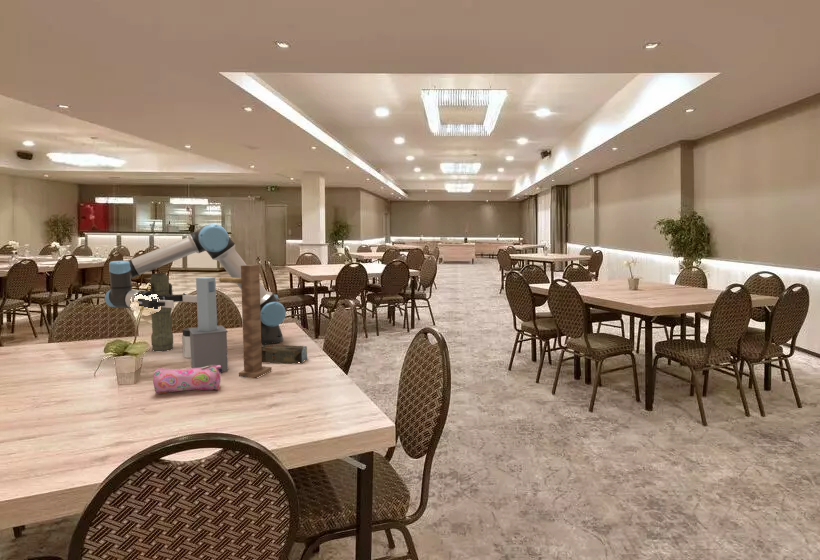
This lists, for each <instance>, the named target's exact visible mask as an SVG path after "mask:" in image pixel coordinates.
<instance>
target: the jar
mask: <svg viewBox="0 0 820 560" xmlns="http://www.w3.org/2000/svg"><path fill="white" fill-rule="evenodd" d="M197 327H198V326H191V327H186V328H183V329H182V335H181V344H182V357H184V358H185V359H191V347H190V331H189V328H197Z"/></svg>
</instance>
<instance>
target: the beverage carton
mask: <svg viewBox="0 0 820 560" xmlns="http://www.w3.org/2000/svg"><path fill="white" fill-rule="evenodd" d="M261 350H262V362H273V363H272V364H292V363H298V362H300V363H302V362H303V361H304V360H305V361H307V359H308V347H307V346H305V345H288V344H284V345H283V344H263V346H262V345H261ZM305 361H304V362H305ZM304 362H303V363H304ZM303 363H302V364H303Z"/></svg>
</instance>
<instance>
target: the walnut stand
mask: <svg viewBox="0 0 820 560" xmlns="http://www.w3.org/2000/svg"><path fill="white" fill-rule="evenodd" d="M218 281H219V282H220V283H225V284H226V283H227V284H230V283H231V284H236V283H241V288H242V290H241V312H242V313H241V314H242V317H241V318H242V346H243V347H242V349H243V370H241V371H239V372H238V377H240V376H245V377H244V378H250V377H259V376H261V375H263V374H265V373H266V374H268V373H270V372H271V370H272V367H271V366H265V365H264V366H263V363H262V350H261V347H262V344H261V313H260V283H261V281H260V264H246V265H242V266H241V278H232V277H227V276H220V277H219V280H218ZM269 371H270V372H269ZM272 371H273V370H272ZM267 372H268V373H267ZM266 374H265V375H266ZM263 376H264V375H263ZM261 377H262V376H261ZM259 378H260V377H259Z"/></svg>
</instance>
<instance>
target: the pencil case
mask: <svg viewBox="0 0 820 560" xmlns="http://www.w3.org/2000/svg"><path fill="white" fill-rule="evenodd" d="M220 367H221V365H217V366H216V365H209V366H205V367H201V368H184V369H183V368H182V369H175V368H174V369H172V368H161V367H159V368H157V369H156V370H155V371H154V373H153V375H154V376H153V378H152V379H153V380H152V382H153V388H154V391H155V394H158V395H162V394H163V395H164V394H166V393H174V392H180V391H194V390H199V391H213V389H215V391H218V390H220V386H221V378H222V377H221V374H223V372H222V369H218V368H220Z"/></svg>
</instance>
